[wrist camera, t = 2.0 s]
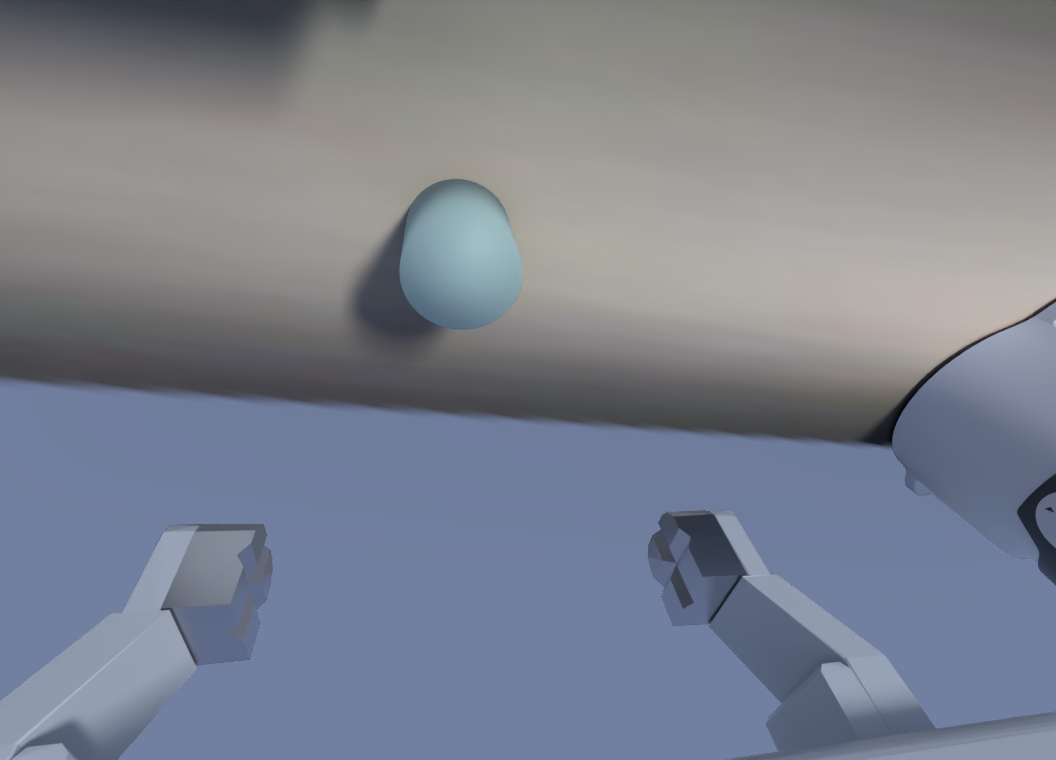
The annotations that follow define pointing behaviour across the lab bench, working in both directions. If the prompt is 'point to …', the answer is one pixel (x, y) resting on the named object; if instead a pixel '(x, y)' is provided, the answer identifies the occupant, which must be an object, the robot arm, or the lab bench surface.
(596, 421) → the lab bench surface
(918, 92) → the lab bench surface
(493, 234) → the pale blue egg shape
